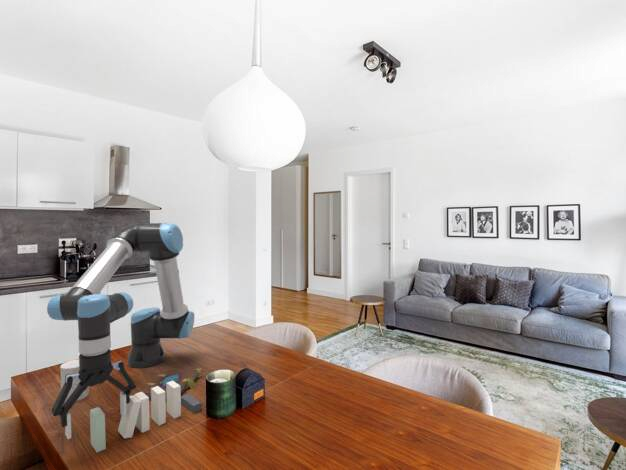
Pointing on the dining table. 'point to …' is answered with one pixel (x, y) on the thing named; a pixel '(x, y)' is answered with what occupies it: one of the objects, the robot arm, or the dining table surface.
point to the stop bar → (191, 403)
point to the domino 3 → (143, 413)
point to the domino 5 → (173, 399)
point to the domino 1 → (97, 429)
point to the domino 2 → (129, 417)
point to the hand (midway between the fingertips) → (97, 425)
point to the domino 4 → (158, 405)
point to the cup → (72, 369)
